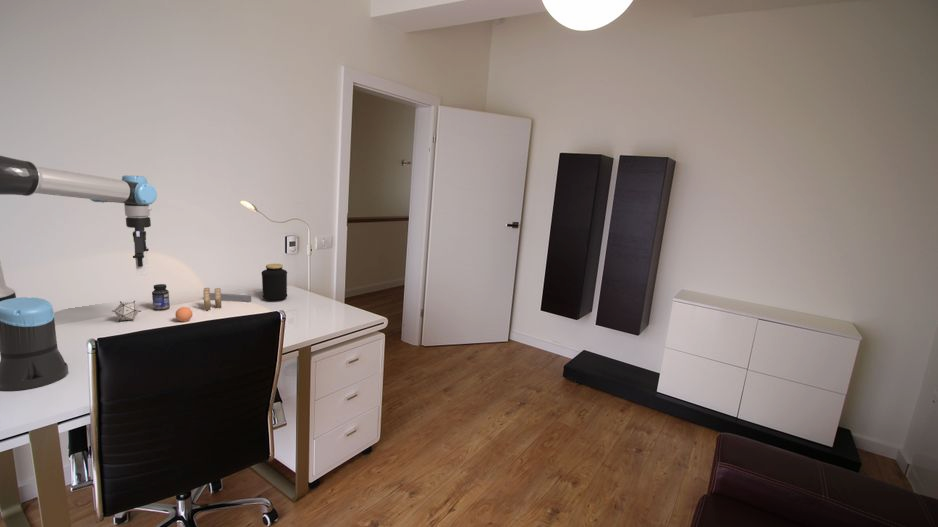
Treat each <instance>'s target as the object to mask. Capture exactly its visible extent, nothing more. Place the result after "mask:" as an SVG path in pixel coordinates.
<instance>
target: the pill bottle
mask: <svg viewBox="0 0 938 527" xmlns="http://www.w3.org/2000/svg"><path fill="white" fill-rule="evenodd" d="M153 289H154V290H153V291H152V292H151V296H152V306H153V311H157V312H158V311H162V312H163V311H167V310H170V306H171V305H170V291H169V290H168V289H167V284H166V283H165V284H164V283H162V284H161V283H160V284H154V285H153Z"/></svg>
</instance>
